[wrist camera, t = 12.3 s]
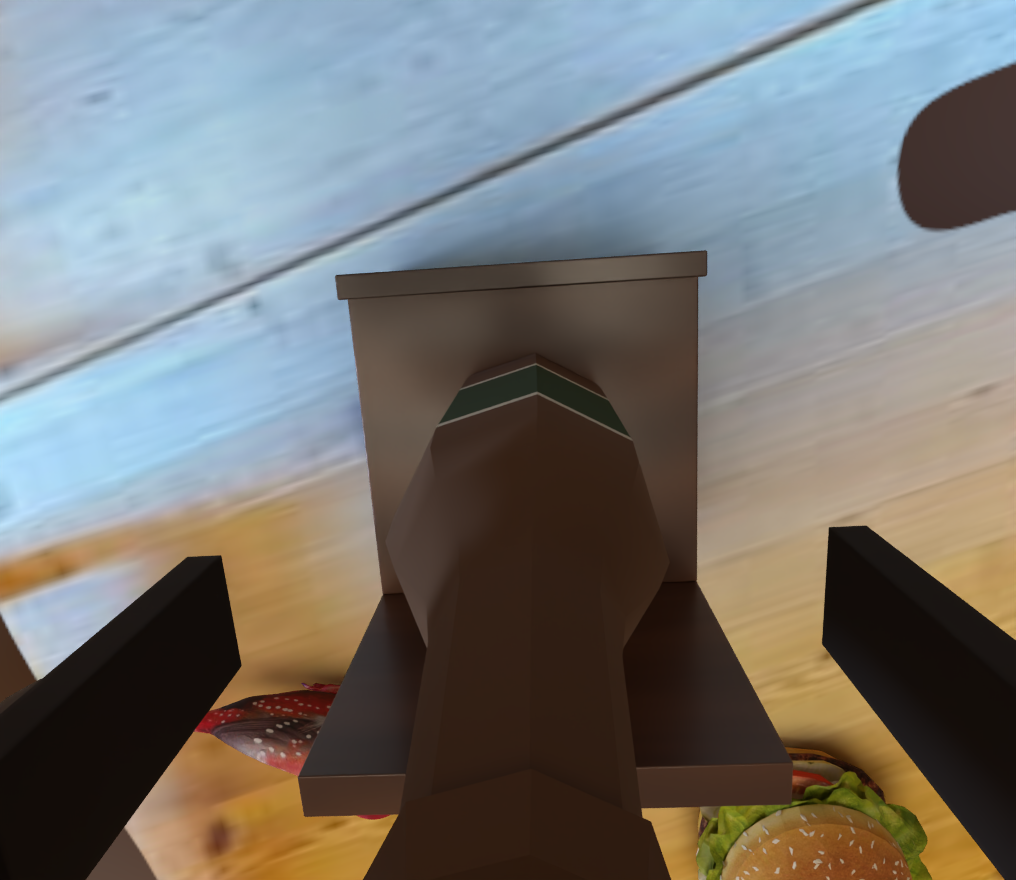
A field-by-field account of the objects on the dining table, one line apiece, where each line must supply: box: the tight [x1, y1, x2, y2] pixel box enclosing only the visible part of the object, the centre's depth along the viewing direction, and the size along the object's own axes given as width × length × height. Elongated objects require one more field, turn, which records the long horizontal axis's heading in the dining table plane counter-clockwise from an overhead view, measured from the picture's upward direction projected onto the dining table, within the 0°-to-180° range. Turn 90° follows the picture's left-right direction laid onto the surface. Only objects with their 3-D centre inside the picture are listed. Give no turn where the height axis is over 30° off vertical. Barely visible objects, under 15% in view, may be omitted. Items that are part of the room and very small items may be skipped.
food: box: [696, 747, 932, 880], centre depth 41 cm, size 14×14×8 cm
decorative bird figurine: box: [194, 683, 389, 819], centre depth 39 cm, size 3×18×10 cm, turn 83°
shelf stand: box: [298, 250, 793, 817], centre depth 29 cm, size 16×15×21 cm
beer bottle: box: [363, 353, 671, 880], centre depth 18 cm, size 8×8×24 cm
